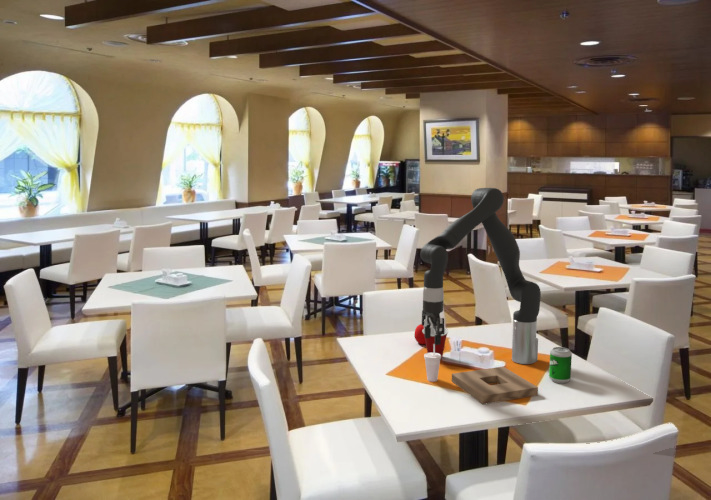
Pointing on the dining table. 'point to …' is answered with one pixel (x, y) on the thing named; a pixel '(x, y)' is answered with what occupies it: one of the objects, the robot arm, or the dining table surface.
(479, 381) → the socket board
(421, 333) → the fruit
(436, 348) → the plastic cup
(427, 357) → the smoothie
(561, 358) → the soda can
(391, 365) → the dining table surface
